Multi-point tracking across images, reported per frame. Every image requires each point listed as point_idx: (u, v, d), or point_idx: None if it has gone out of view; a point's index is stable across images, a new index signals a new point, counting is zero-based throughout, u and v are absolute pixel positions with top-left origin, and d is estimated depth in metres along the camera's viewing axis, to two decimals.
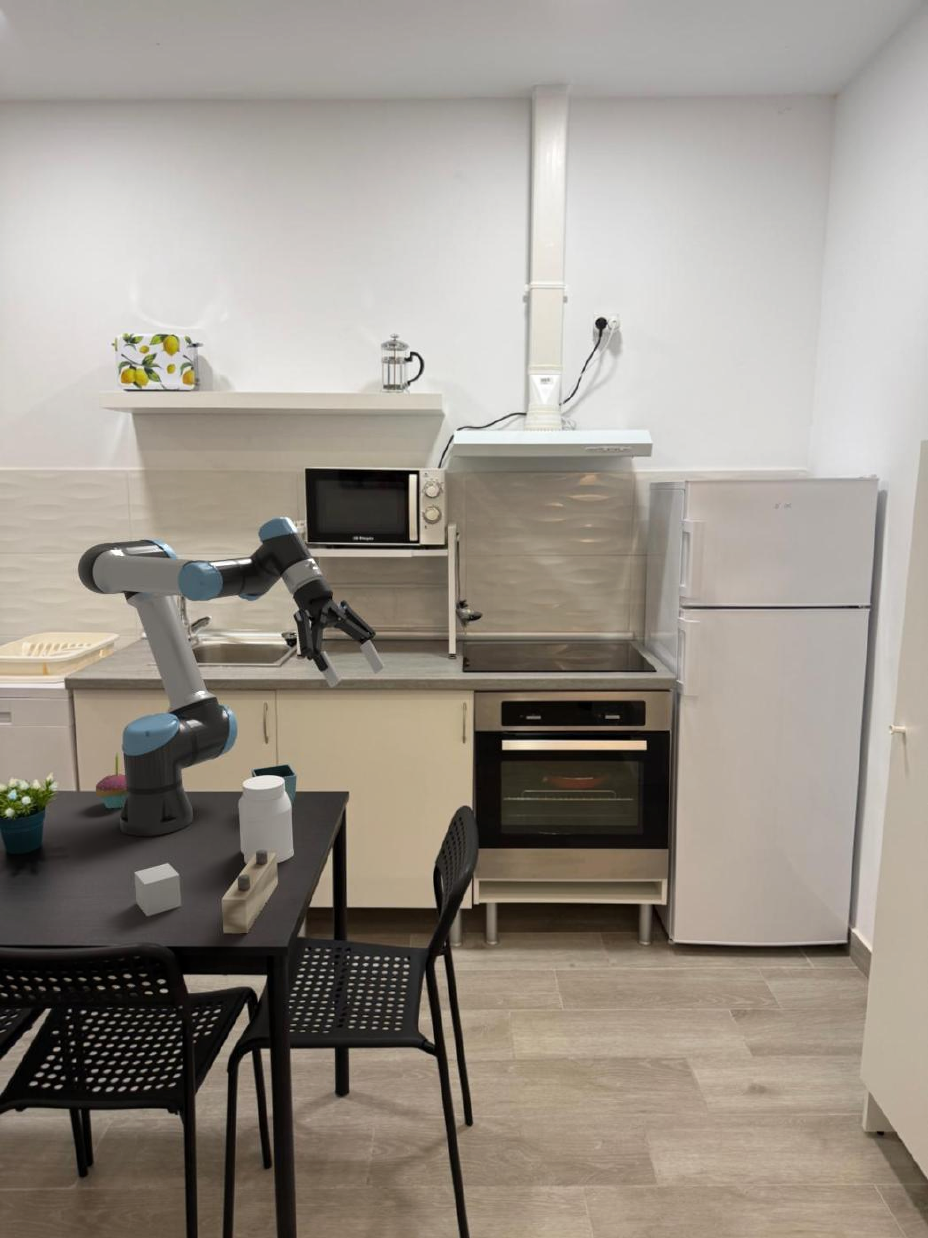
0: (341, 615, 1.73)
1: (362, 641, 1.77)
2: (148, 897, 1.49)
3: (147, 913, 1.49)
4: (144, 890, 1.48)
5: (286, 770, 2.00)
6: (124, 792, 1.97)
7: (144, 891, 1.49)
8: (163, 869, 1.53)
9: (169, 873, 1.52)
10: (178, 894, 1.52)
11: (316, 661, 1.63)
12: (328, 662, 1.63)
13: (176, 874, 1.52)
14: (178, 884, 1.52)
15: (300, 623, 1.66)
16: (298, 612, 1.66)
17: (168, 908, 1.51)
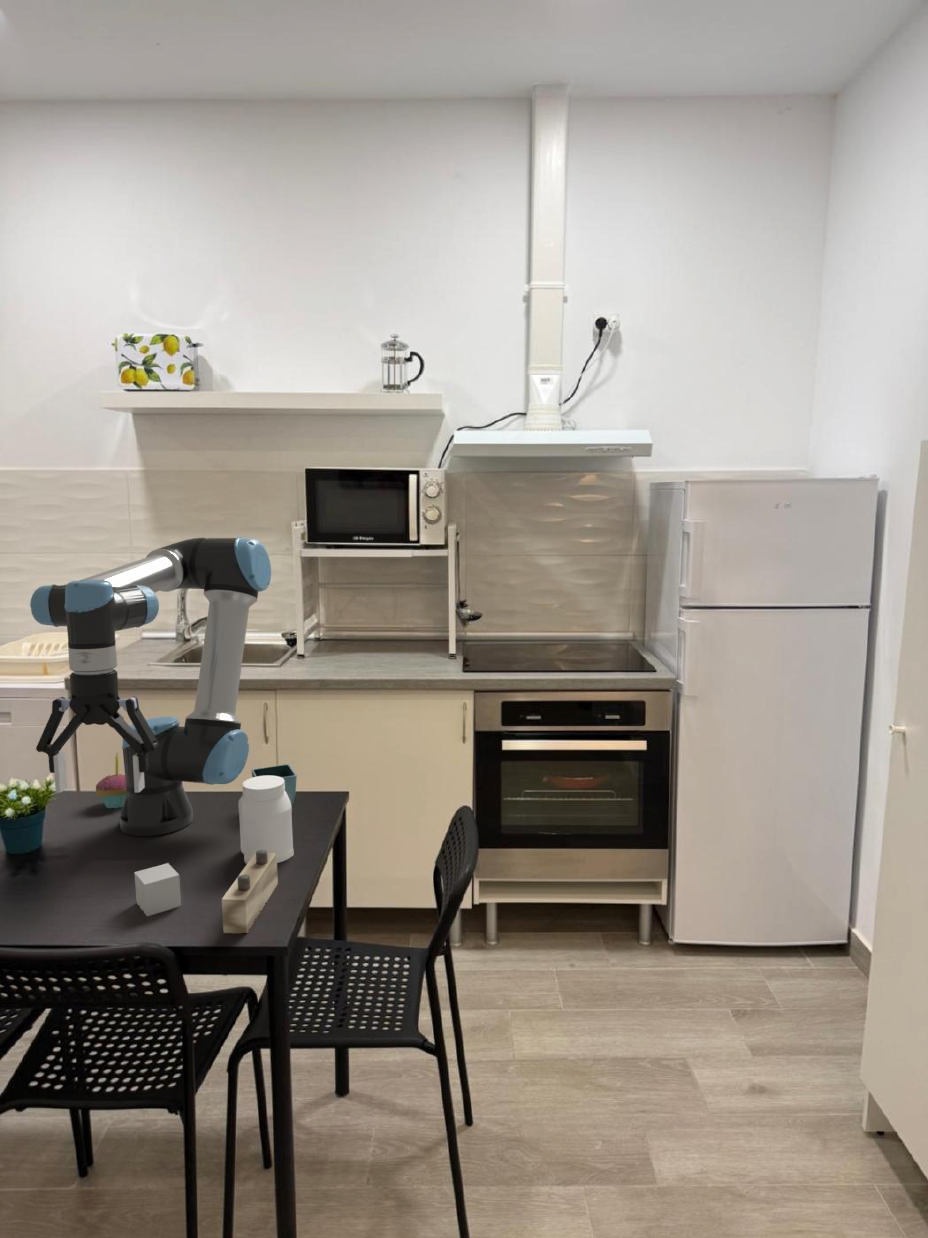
0: (107, 720, 1.47)
1: None
2: (148, 897, 1.49)
3: (147, 913, 1.49)
4: (144, 890, 1.48)
5: (286, 770, 2.00)
6: (124, 792, 1.97)
7: (144, 891, 1.49)
8: (163, 869, 1.53)
9: (169, 873, 1.52)
10: (178, 894, 1.52)
11: None
12: (55, 769, 1.48)
13: (176, 874, 1.51)
14: (178, 884, 1.52)
15: None
16: None
17: (168, 908, 1.51)
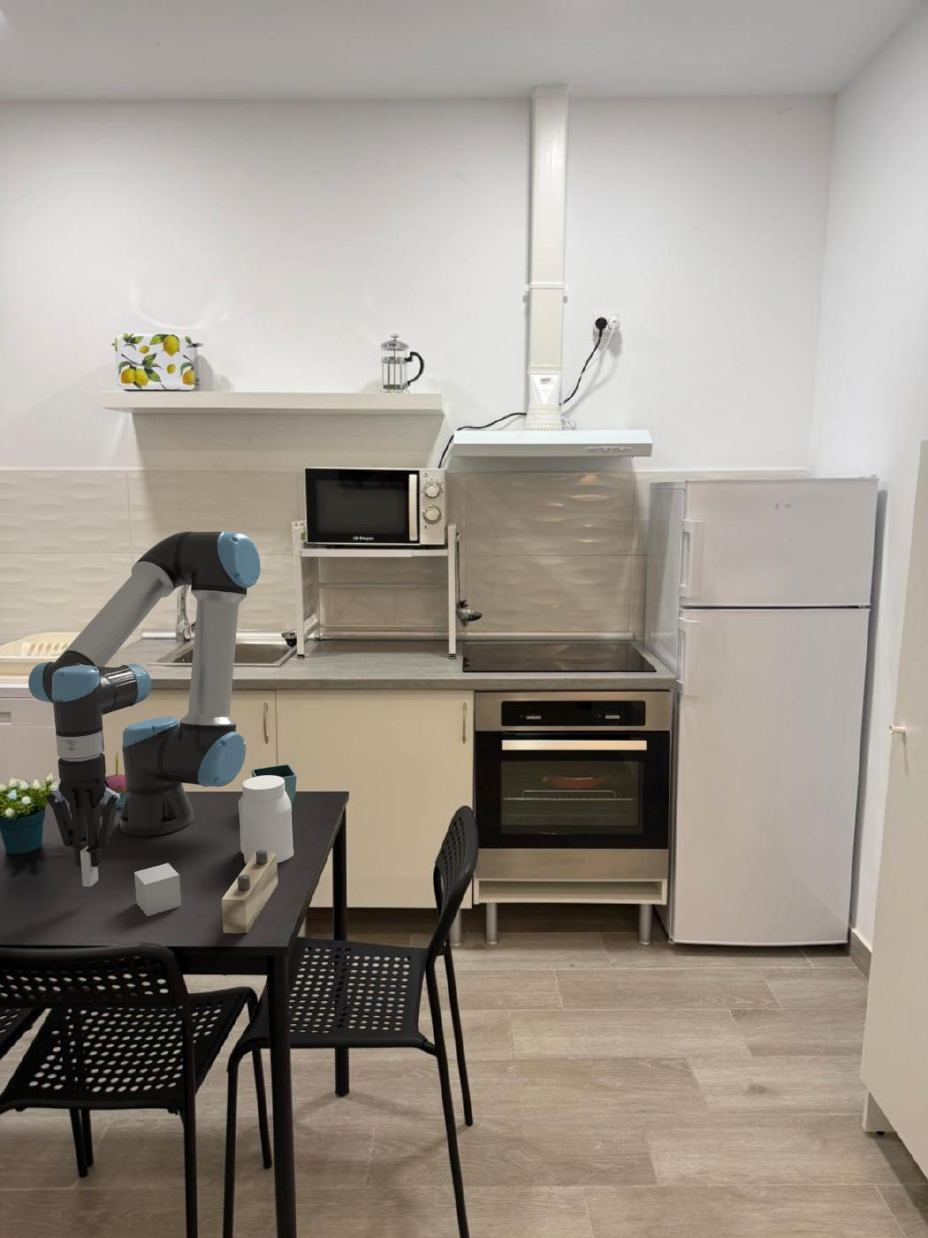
0: (85, 806, 1.49)
1: None
2: (148, 897, 1.49)
3: (147, 913, 1.49)
4: (144, 890, 1.48)
5: (286, 770, 2.00)
6: (124, 792, 1.97)
7: (144, 891, 1.49)
8: (163, 869, 1.53)
9: (169, 873, 1.52)
10: (178, 894, 1.52)
11: None
12: (81, 864, 1.51)
13: (176, 874, 1.51)
14: (178, 884, 1.52)
15: None
16: None
17: (168, 908, 1.51)
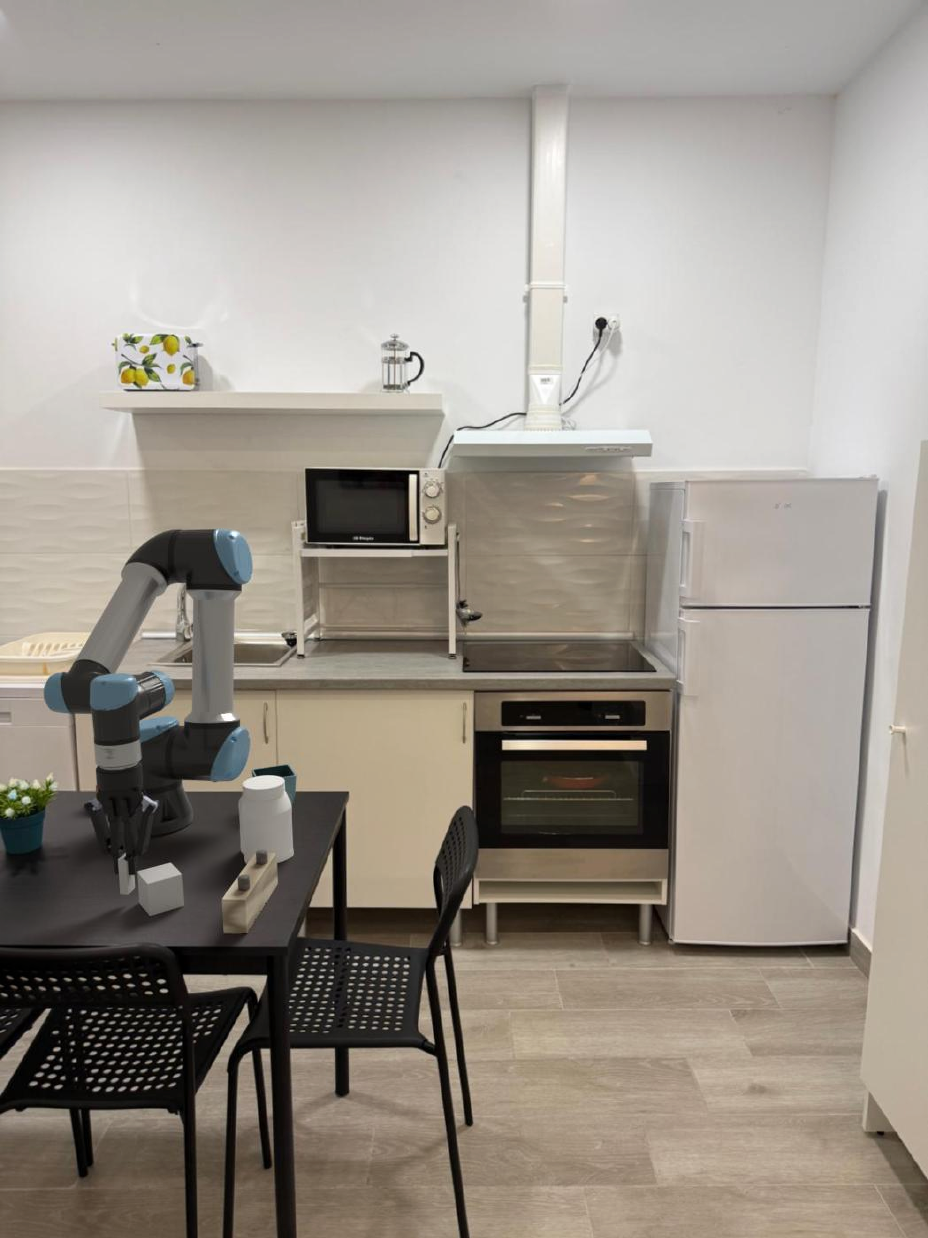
0: (123, 815, 1.49)
1: None
2: (151, 896, 1.48)
3: (150, 912, 1.49)
4: (147, 889, 1.48)
5: (286, 770, 2.00)
6: None
7: (147, 890, 1.48)
8: (166, 869, 1.53)
9: (172, 872, 1.52)
10: (181, 893, 1.52)
11: None
12: (119, 872, 1.51)
13: (179, 873, 1.51)
14: (181, 883, 1.51)
15: None
16: None
17: (171, 907, 1.51)
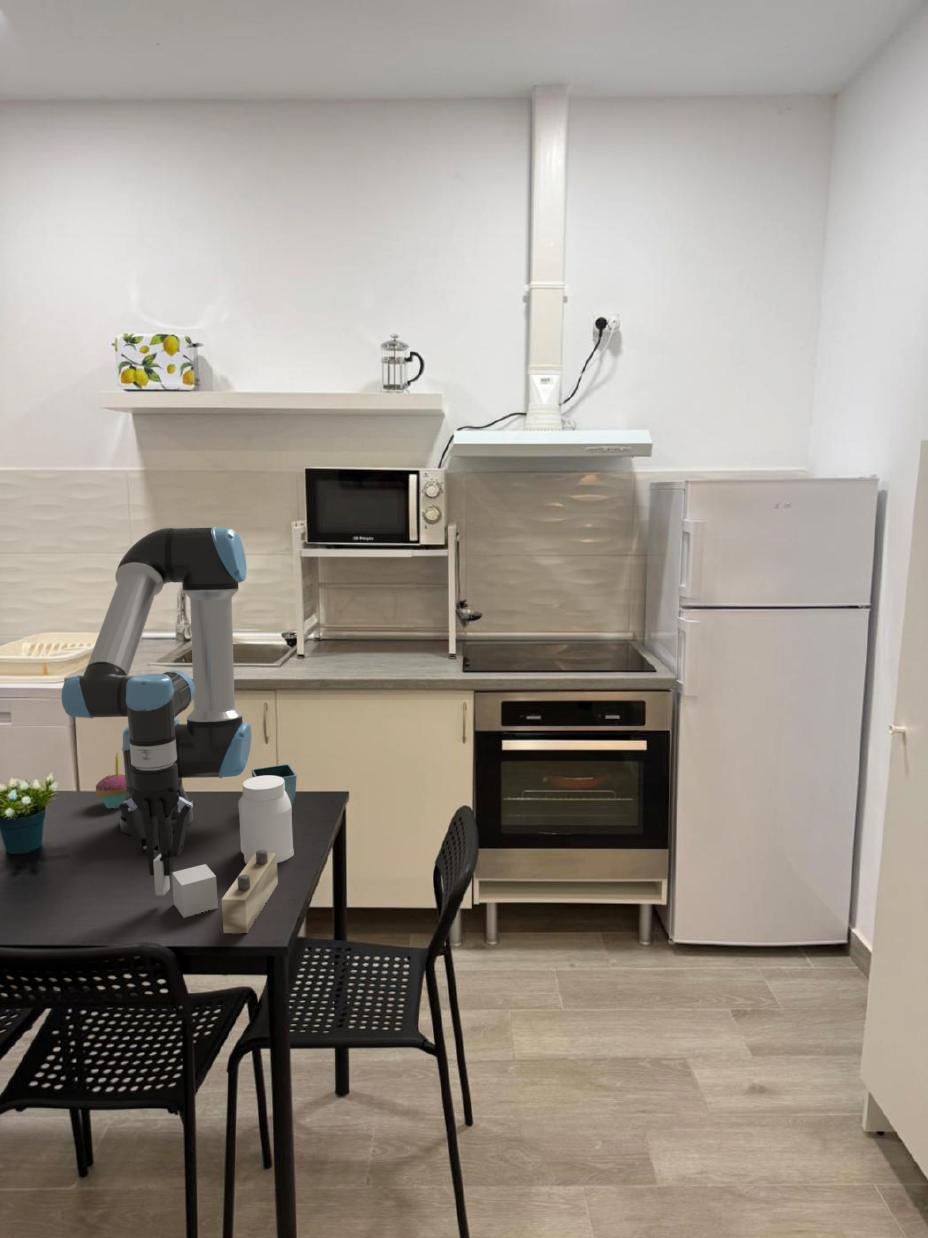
0: (159, 816, 1.48)
1: None
2: (185, 898, 1.48)
3: (184, 914, 1.48)
4: (181, 891, 1.48)
5: (286, 770, 2.00)
6: (124, 792, 1.97)
7: (181, 892, 1.48)
8: (201, 870, 1.53)
9: (206, 874, 1.51)
10: (215, 896, 1.51)
11: None
12: (154, 873, 1.50)
13: (213, 875, 1.51)
14: (215, 886, 1.51)
15: None
16: None
17: (205, 909, 1.50)
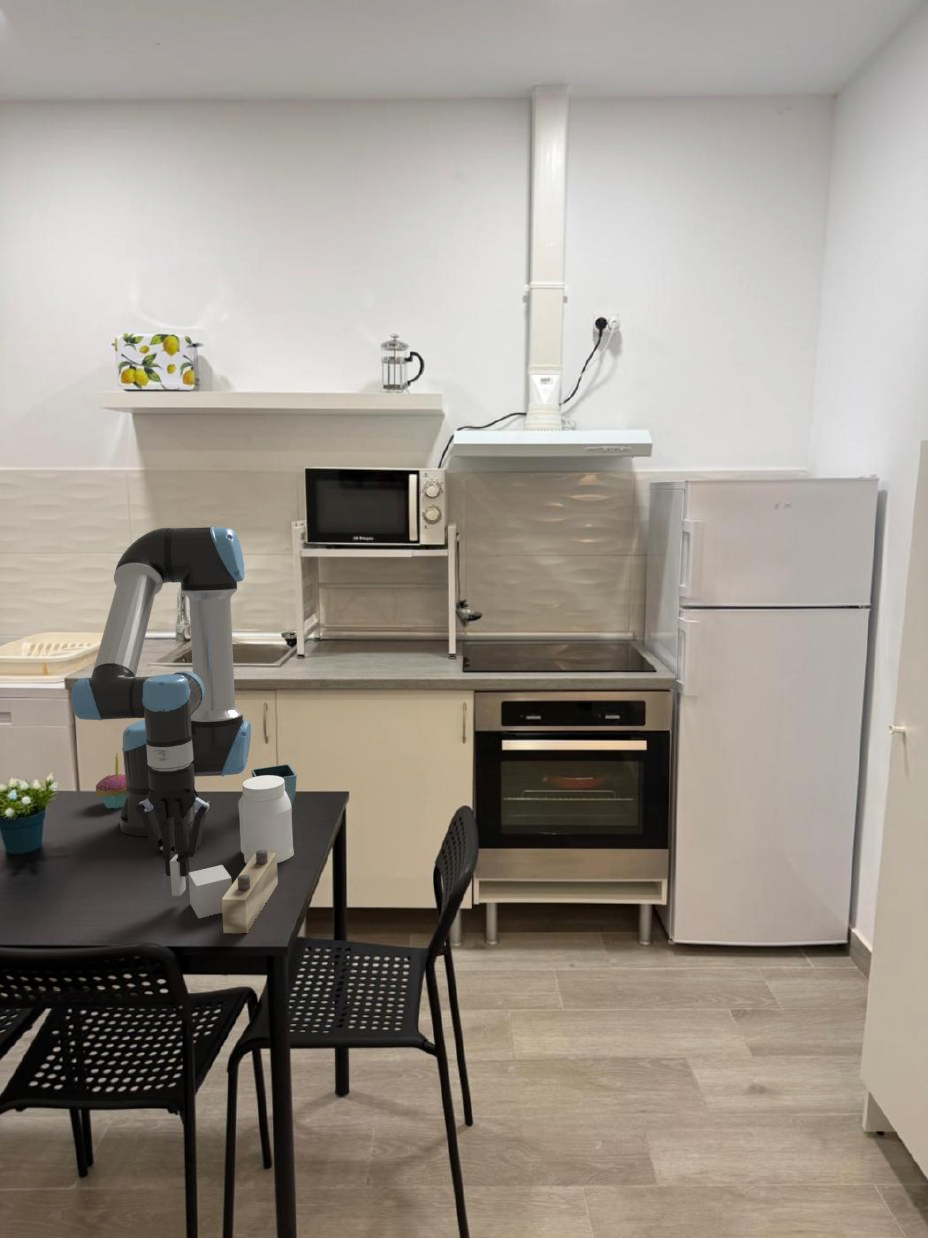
0: (176, 816, 1.48)
1: None
2: (200, 899, 1.47)
3: (199, 915, 1.48)
4: (196, 892, 1.47)
5: (286, 770, 2.00)
6: (124, 792, 1.97)
7: (196, 893, 1.48)
8: (217, 871, 1.52)
9: (222, 875, 1.51)
10: None
11: None
12: (171, 873, 1.50)
13: (228, 877, 1.50)
14: None
15: None
16: None
17: (220, 911, 1.50)
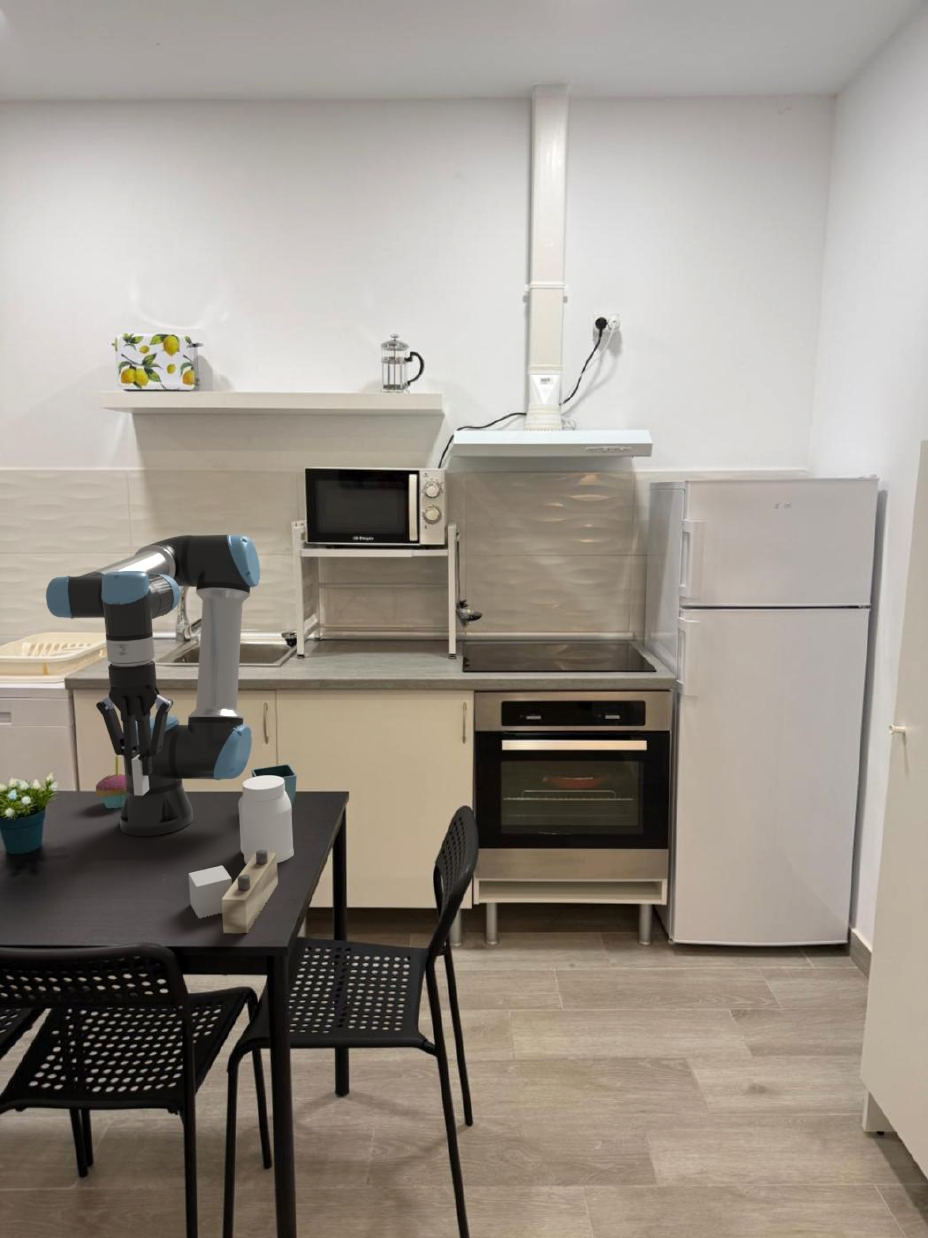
0: (137, 713, 1.47)
1: None
2: (200, 899, 1.48)
3: (199, 915, 1.48)
4: (196, 892, 1.47)
5: (286, 770, 2.00)
6: (124, 792, 1.97)
7: (196, 893, 1.48)
8: (217, 872, 1.52)
9: (222, 876, 1.51)
10: None
11: None
12: (133, 772, 1.49)
13: (228, 877, 1.50)
14: None
15: None
16: None
17: (220, 911, 1.50)
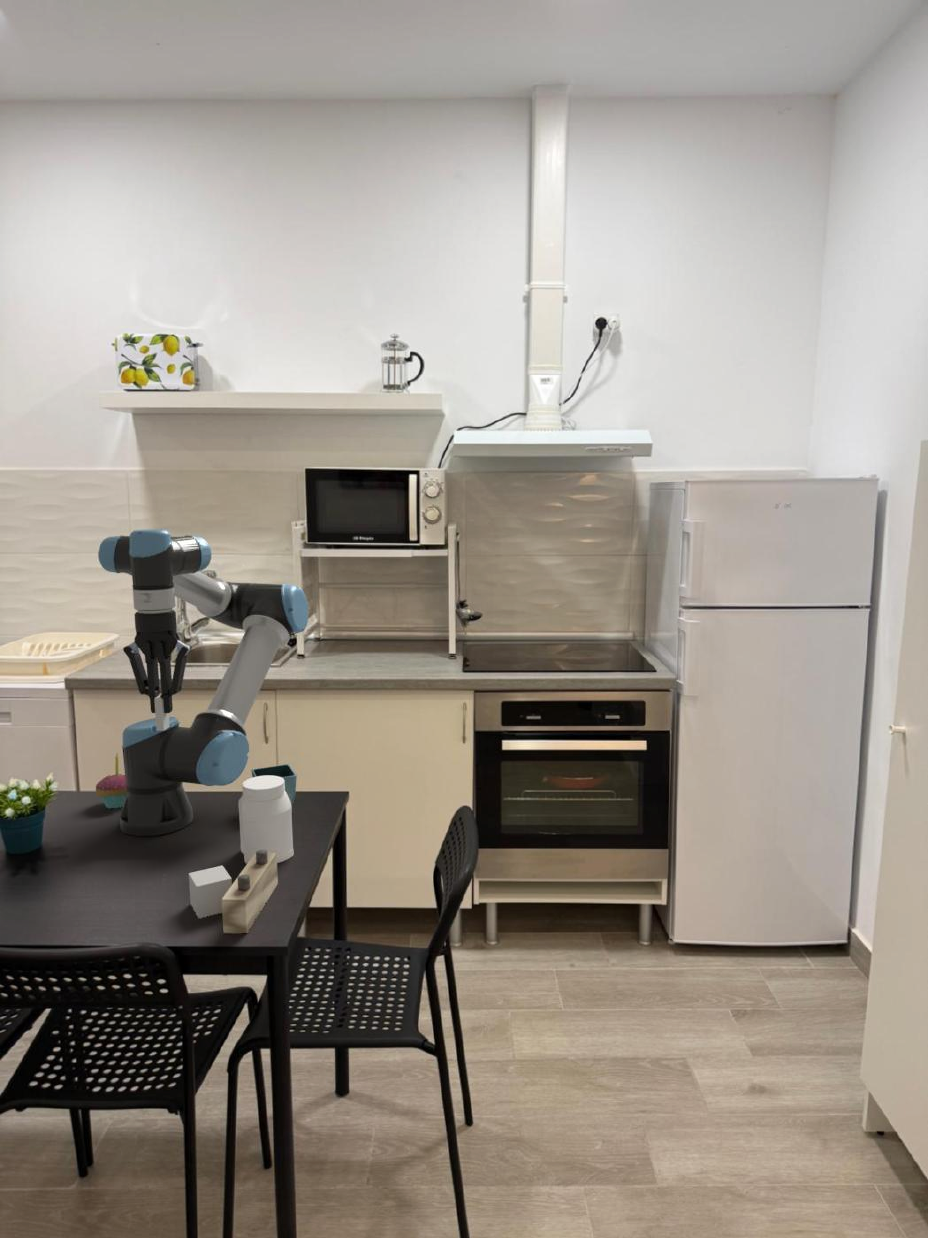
0: (159, 656, 1.65)
1: None
2: (200, 899, 1.48)
3: (199, 915, 1.48)
4: (196, 892, 1.48)
5: (286, 770, 2.00)
6: (124, 792, 1.97)
7: (196, 893, 1.48)
8: (217, 872, 1.52)
9: (222, 876, 1.51)
10: None
11: None
12: (155, 710, 1.67)
13: (228, 877, 1.50)
14: None
15: None
16: None
17: (220, 911, 1.50)
